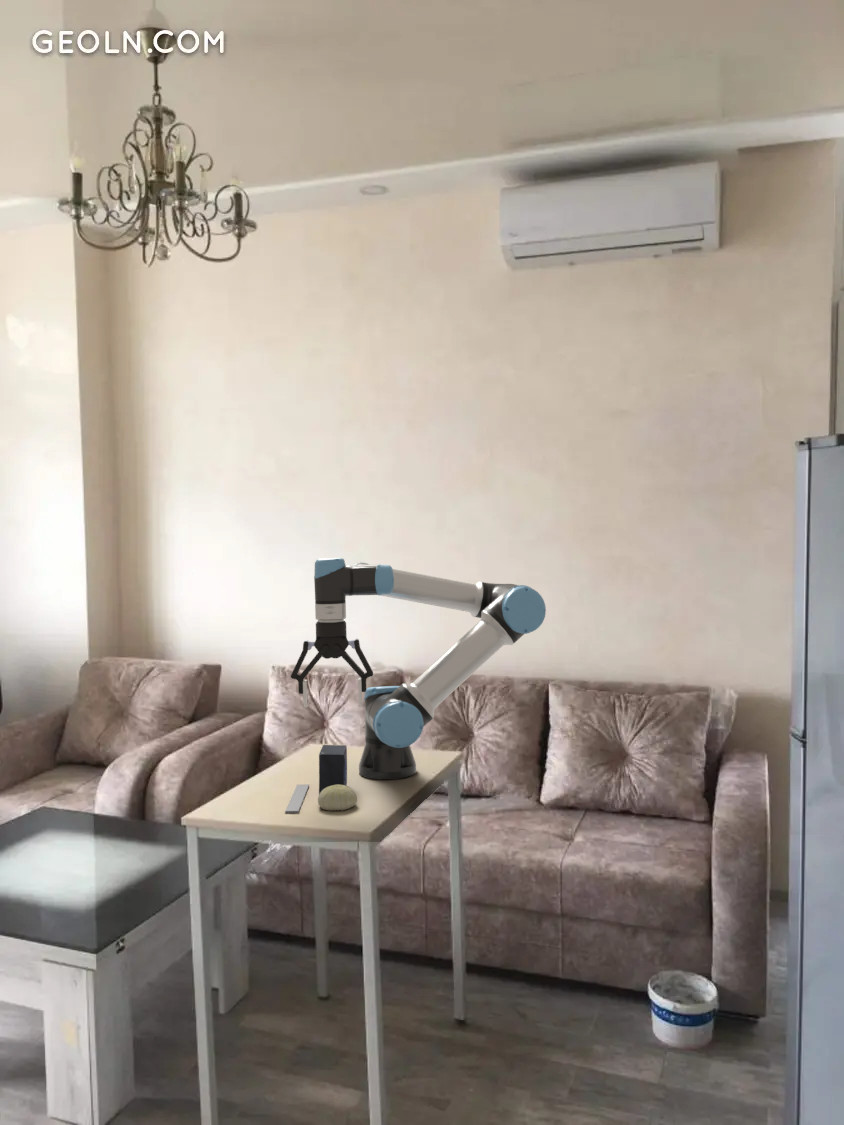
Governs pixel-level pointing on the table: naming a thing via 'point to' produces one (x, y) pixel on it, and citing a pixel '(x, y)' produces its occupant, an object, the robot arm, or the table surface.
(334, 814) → the table surface
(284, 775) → the table surface
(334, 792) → the sea urchin shell
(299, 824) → the table surface
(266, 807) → the table surface
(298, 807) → the gray strip
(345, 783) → the small box
